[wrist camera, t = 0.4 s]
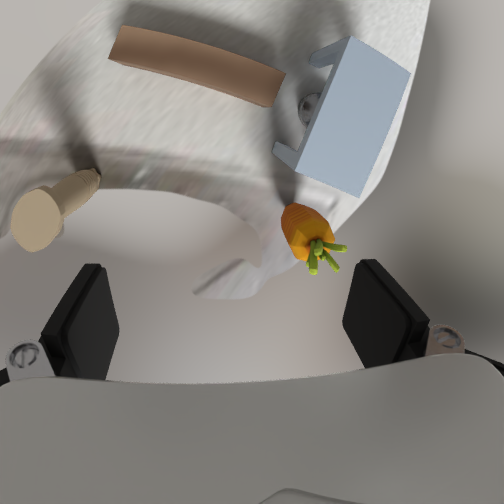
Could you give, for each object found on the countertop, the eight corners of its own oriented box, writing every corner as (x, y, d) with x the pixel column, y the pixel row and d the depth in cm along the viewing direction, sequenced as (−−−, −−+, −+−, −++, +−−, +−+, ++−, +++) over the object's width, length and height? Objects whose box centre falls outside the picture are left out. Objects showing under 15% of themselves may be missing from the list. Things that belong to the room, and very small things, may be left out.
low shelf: (312, 53, 31) (351, 35, 20) (360, 77, 32) (410, 73, 22) (271, 152, 36) (294, 171, 26) (320, 171, 38) (358, 198, 28)
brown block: (135, 36, 27) (122, 24, 22) (275, 78, 32) (286, 73, 27) (123, 65, 29) (107, 58, 24) (262, 107, 34) (271, 107, 28)
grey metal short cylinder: (306, 86, 33) (312, 85, 31) (341, 103, 34) (349, 103, 32) (292, 122, 35) (297, 123, 33) (327, 137, 36) (334, 139, 34)
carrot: (307, 188, 39) (354, 234, 25) (307, 223, 41) (350, 282, 28) (269, 191, 38) (300, 241, 25) (271, 227, 41) (300, 290, 27)
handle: (65, 182, 34) (3, 225, 21) (96, 149, 33) (35, 177, 20) (87, 207, 36) (34, 261, 23) (119, 176, 35) (70, 218, 22)
